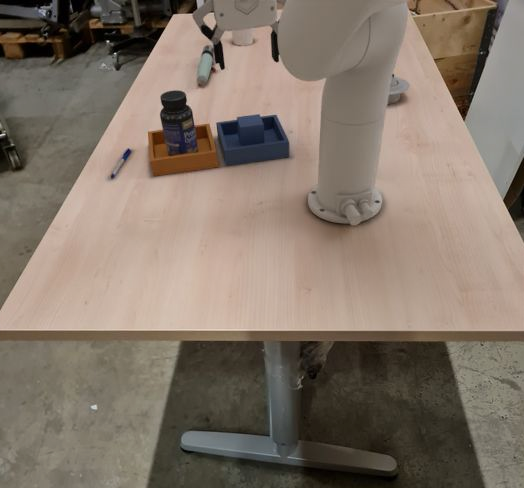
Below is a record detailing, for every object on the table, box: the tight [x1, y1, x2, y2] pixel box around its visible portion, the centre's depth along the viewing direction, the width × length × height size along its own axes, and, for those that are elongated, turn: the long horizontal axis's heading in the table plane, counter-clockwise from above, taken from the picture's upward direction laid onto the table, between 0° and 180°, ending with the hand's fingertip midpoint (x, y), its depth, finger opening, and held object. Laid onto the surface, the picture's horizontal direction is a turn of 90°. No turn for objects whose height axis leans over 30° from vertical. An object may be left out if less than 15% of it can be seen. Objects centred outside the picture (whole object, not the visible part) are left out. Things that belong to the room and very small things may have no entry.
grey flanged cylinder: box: [387, 66, 410, 105], centre depth 104 cm, size 12×10×10 cm
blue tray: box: [215, 114, 290, 167], centre depth 96 cm, size 12×13×3 cm
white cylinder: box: [231, 28, 255, 46], centre depth 134 cm, size 7×7×7 cm
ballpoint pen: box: [110, 147, 132, 179], centre depth 95 cm, size 10×1×1 cm, turn 172°
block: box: [236, 113, 265, 146], centre depth 95 cm, size 5×5×5 cm
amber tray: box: [147, 123, 219, 177], centre depth 95 cm, size 12×13×3 cm
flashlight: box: [196, 44, 217, 86], centre depth 123 cm, size 3×4×20 cm
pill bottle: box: [159, 90, 198, 156], centre depth 91 cm, size 6×6×11 cm
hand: (248, 63), depth 85 cm, fingers open, 9 cm apart
